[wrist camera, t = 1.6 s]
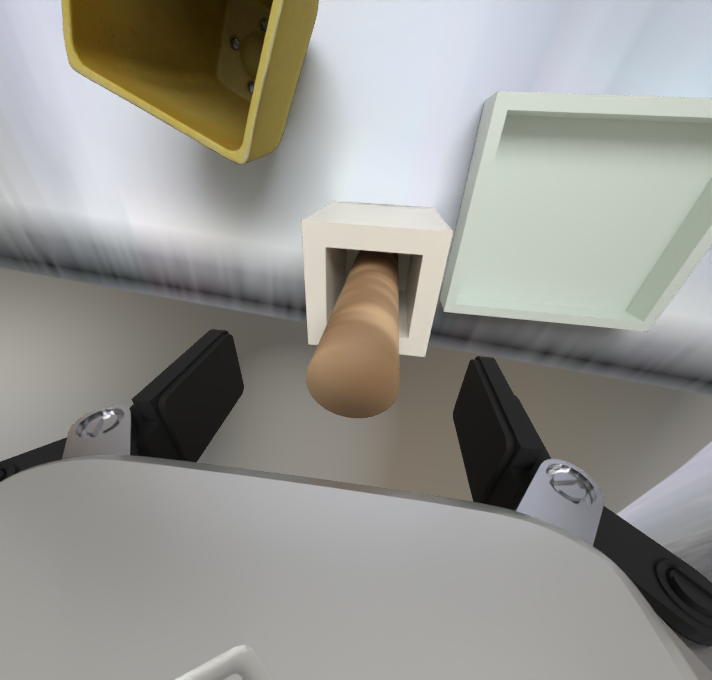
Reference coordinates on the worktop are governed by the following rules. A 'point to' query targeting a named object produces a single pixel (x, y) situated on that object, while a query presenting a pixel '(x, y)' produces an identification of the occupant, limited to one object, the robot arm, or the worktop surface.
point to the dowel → (360, 342)
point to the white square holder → (385, 234)
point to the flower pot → (197, 63)
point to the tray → (582, 208)
